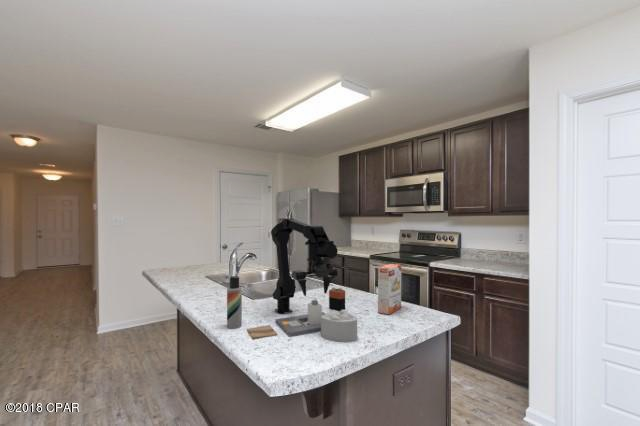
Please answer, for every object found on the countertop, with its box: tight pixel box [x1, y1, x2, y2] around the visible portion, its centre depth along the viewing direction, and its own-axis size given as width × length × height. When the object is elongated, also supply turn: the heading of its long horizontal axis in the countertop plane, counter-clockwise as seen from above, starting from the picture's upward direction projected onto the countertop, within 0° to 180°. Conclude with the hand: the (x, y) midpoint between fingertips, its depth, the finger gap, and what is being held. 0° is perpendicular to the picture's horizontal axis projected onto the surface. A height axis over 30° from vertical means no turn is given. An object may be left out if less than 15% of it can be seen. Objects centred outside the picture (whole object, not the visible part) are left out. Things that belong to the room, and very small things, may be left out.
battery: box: [328, 287, 346, 312], centre depth 146 cm, size 4×7×10 cm, turn 53°
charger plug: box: [307, 299, 323, 325], centre depth 126 cm, size 5×4×10 cm
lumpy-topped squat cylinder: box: [320, 309, 358, 343], centre depth 112 cm, size 10×13×9 cm
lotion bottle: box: [226, 275, 243, 329], centre depth 124 cm, size 6×6×20 cm
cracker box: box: [377, 263, 402, 316], centre depth 143 cm, size 14×6×21 cm, turn 143°
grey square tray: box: [274, 311, 327, 338], centre depth 124 cm, size 17×22×2 cm
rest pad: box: [246, 324, 278, 340], centre depth 116 cm, size 10×9×1 cm
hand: (315, 294), depth 126 cm, fingers open, 9 cm apart
